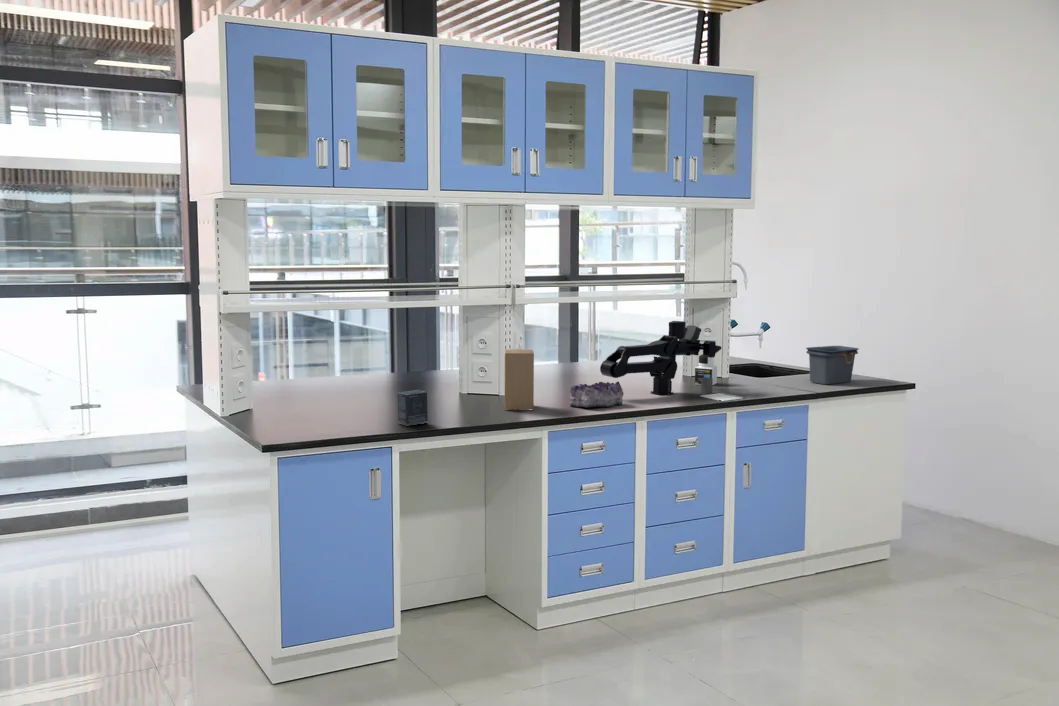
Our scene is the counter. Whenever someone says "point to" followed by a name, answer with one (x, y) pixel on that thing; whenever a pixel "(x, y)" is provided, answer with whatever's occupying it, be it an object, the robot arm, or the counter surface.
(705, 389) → the grey bottle
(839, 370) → the storage bin
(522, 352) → the wooden block
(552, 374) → the counter surface
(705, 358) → the medicine bottle
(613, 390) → the geode
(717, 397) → the notepad
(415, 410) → the box
